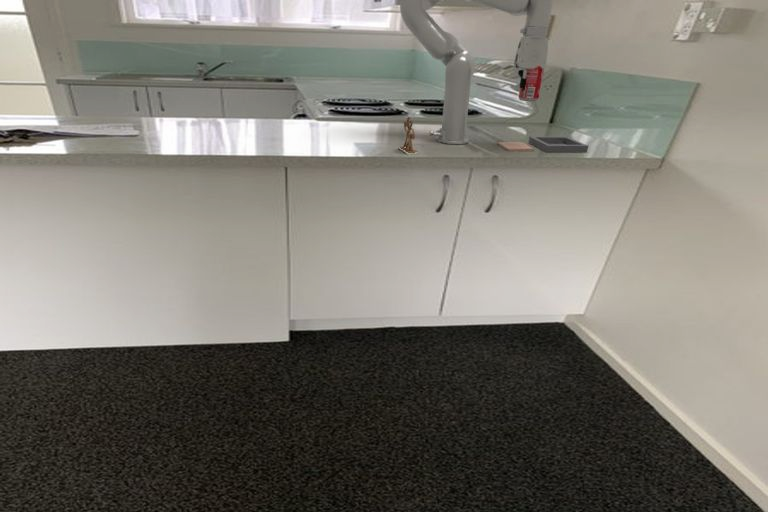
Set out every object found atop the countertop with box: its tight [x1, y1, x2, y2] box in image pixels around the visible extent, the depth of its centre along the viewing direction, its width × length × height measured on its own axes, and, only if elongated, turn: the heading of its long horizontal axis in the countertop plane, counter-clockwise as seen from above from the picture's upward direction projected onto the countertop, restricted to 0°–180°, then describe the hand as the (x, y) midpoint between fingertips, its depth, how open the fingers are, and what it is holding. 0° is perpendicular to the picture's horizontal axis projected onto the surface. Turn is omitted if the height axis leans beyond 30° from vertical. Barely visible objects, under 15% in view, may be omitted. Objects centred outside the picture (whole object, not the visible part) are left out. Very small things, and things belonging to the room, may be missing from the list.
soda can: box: [518, 66, 545, 102], centre depth 151 cm, size 7×7×13 cm
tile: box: [497, 141, 534, 152], centre depth 161 cm, size 10×11×1 cm
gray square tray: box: [528, 136, 589, 153], centre depth 163 cm, size 16×16×2 cm
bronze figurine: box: [399, 116, 418, 153], centre depth 148 cm, size 9×4×12 cm, turn 21°
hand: (524, 90), depth 152 cm, fingers closed
